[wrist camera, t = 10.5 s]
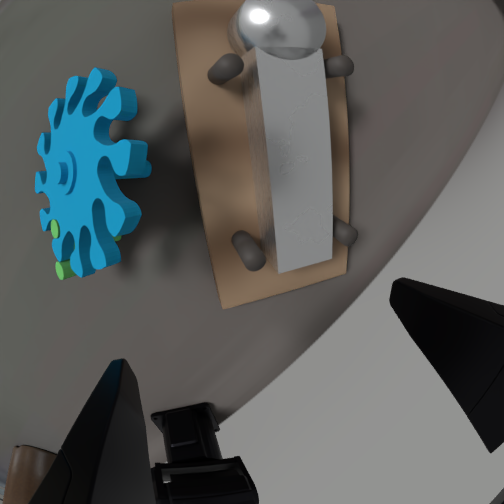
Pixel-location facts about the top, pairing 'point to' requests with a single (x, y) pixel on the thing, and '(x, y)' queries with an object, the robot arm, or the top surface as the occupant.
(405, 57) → the top surface
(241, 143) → the peg rack
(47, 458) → the plant pot
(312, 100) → the ball knob lever
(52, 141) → the gear
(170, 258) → the top surface
